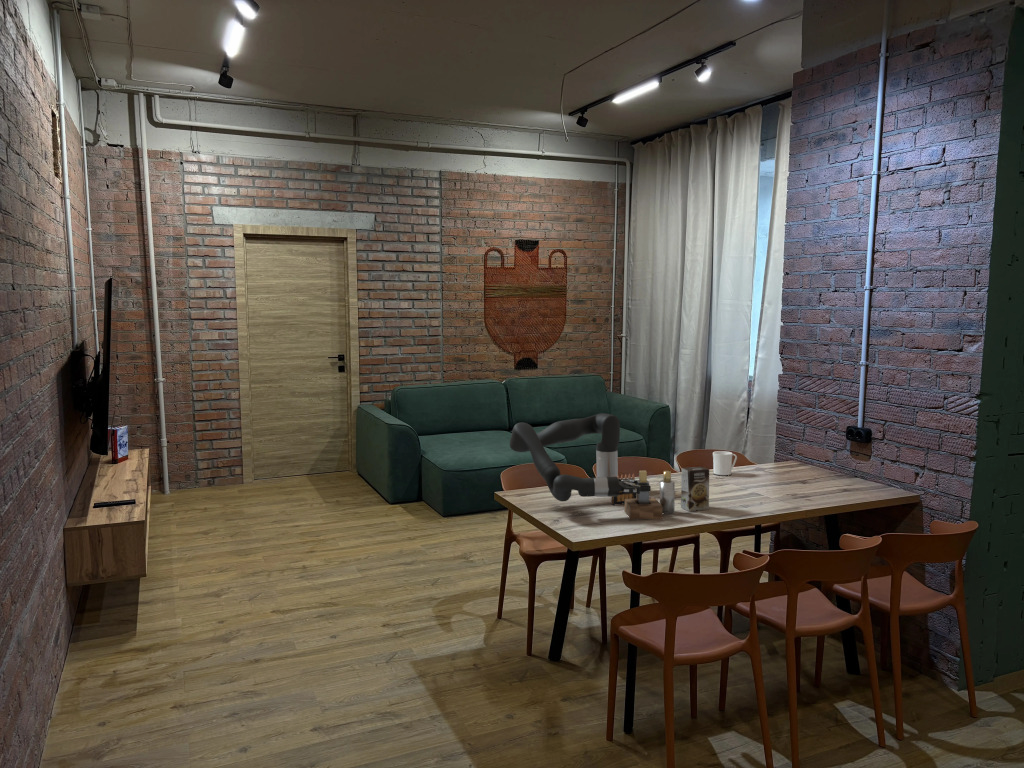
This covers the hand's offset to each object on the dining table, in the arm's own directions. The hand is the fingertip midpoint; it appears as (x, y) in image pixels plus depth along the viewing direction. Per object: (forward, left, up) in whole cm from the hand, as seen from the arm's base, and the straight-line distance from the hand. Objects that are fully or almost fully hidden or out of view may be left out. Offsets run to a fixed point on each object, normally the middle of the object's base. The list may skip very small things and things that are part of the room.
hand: (647, 485), depth 274 cm
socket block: (0, -2, -11) cm, 12 cm away
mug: (-63, +50, -12) cm, 81 cm away
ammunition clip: (-18, -6, -12) cm, 22 cm away
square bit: (0, -2, -10) cm, 11 cm away
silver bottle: (-3, +8, -11) cm, 14 cm away
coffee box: (-7, +20, -12) cm, 24 cm away
